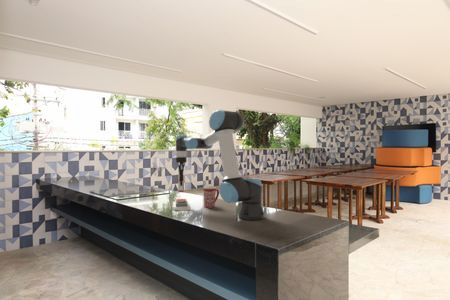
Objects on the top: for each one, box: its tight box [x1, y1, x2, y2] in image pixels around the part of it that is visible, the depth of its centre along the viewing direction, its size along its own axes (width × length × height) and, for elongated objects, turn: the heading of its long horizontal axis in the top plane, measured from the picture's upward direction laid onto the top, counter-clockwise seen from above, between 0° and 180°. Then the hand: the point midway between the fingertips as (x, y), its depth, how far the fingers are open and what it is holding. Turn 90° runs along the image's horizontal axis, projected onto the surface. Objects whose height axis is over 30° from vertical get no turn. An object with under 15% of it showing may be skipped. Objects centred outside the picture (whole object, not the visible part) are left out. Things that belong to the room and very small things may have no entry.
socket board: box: [172, 198, 191, 211], centre depth 208 cm, size 11×22×4 cm, turn 10°
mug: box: [202, 186, 220, 209], centre depth 210 cm, size 13×9×14 cm
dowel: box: [177, 174, 185, 193], centre depth 214 cm, size 4×4×12 cm
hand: (181, 189), depth 214 cm, fingers closed on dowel, 4 cm apart
